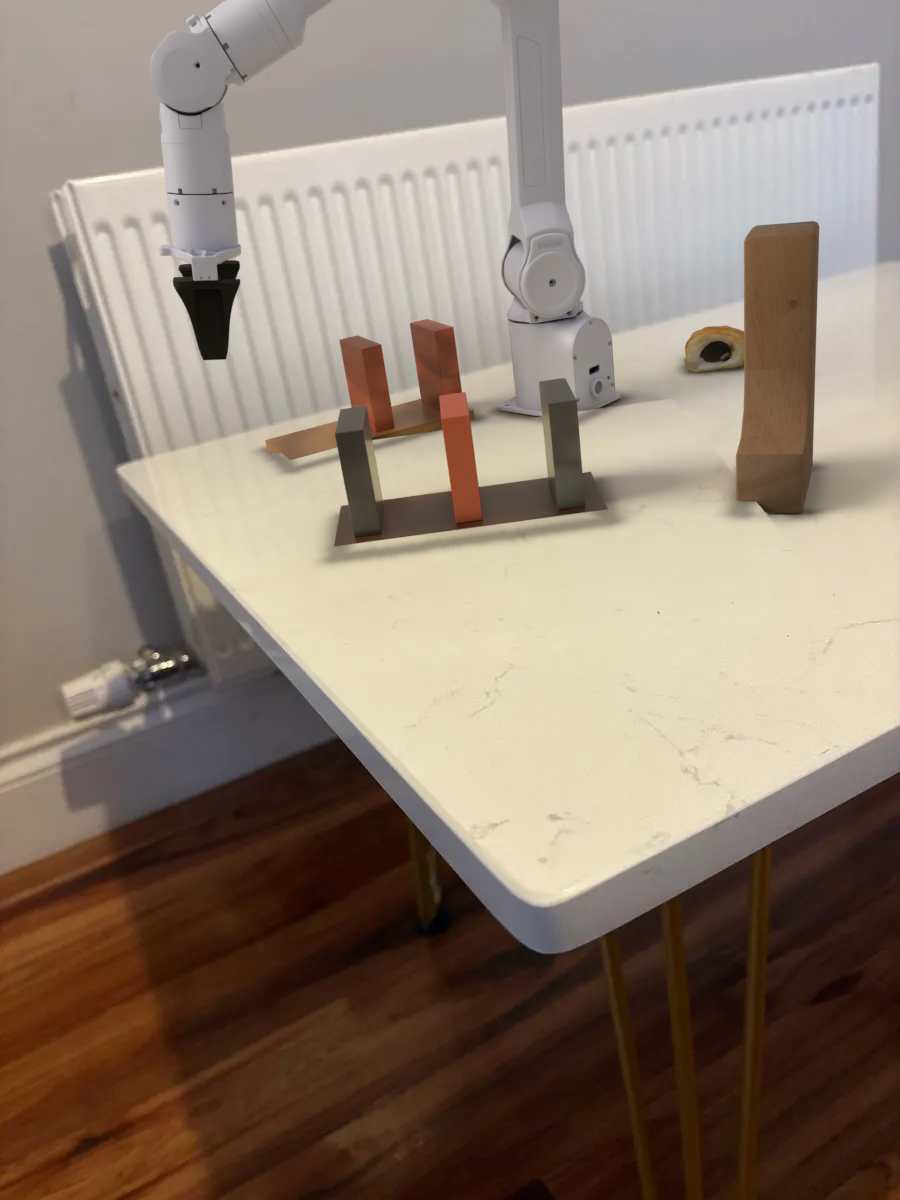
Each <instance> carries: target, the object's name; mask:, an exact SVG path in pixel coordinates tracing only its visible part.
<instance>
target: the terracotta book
mask: <svg viewBox="0 0 900 1200" xmlns="http://www.w3.org/2000/svg"><path fill="white" fill-rule="evenodd" d="M439 399H440V411H441V422H442V428H441V429H442V435H443V442H444V443H443V444H444V449H445V457H446V463H447V471H448V478H449V486H450V491H451V493H452V500H453V507H454V514H455V521H456V523H464V522H471V521H478V520H483V516H482V508H481V500H480V493H479V487H480V486H479V477H478V470H477V463H476V455H475V447H474V446H475V445H474V439H473V429H472V424H471V420H470V415H469V409H468V407H469V404H468V397H467V392H465V391H462V392H461V393H454V394H447V395H440V396H439Z"/></svg>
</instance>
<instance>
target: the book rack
mask: <svg viewBox="0 0 900 1200" xmlns="http://www.w3.org/2000/svg"><path fill="white" fill-rule="evenodd" d="M409 328H410V329H409V330H410V335H411V341H412V347H413V354H414V361H415V368H416V375H417V376H416V377H417V382H418V388H419V394H420V395H419V396H420V398H417V399H414V400H411V401H407V402H403V403H400V404H396V405H392V402H391V395H390V390H389V384H388V383H389V382H388V378H387V370H386V365H385V359H384V353H383V346H382V344H381V343H378V342H376V341H373V340H371V339H368V338H365V337H363V336H361V335H358V334H357V335H353V336H349V337H345V338H341V339H339V346H340V352H341V358H342V362H343V363H342V364H343V369H344V373H345V380H346V386H347V391H348V396H349V401H350V408H354V407H361V406H367V412H368V418H369V423H370V429H371V435H372V441H376V440H384V439H392V438H398V437H405V436H412V435H413V436H414V435H420V434H426V433H429V432H434V431H437V430H441V429H442V422H441V411H440V399H439V396H440V395H447V394H454V393H461V392H463V389H462V381H461V373H460V366H459V359H458V352H457V351H458V350H457V343H456V336H455V335H456V334H455V328H454V326H451V325H448V324H446V323H442V322H438V321H436V320H432V319H428V318H425V319H421V320H417V321H411V322H410V323H409ZM468 409H469V415H470V421H474V420H475V412H474V409H473V408H471V407H469V406H468ZM337 422H338V420H335V421H332V422H328V423H324V424H321V425H317V426H313V427H309V428H305V429H302V430H298V431H294V432H290V433H287V434H283V435H279V436H275V437H271V438H267V439H265V440H264V442H265V447H266V450H267V451H268V452H270V453H271V454H272V455H277V454H281V455H283V456H284V457H285V458H287V459H288V460H289V461H293V460H296V459H300V458H304V457H307V456H311V455H314V454H318V453H322V452H325V451H329V450H332V449H336V448H337V443H336V437H335V431H336V427H337ZM337 449H338V448H337Z"/></svg>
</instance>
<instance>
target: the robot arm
mask: <svg viewBox="0 0 900 1200" xmlns="http://www.w3.org/2000/svg"><path fill="white" fill-rule="evenodd" d="M336 1H337V0H223V1H222V3H219V4H218V5H217V6H215V7H214V8H213V9H211V10H210V11H209V12H207V13H206V14H204V15H202V16H201V17H200V18H199V16H198V15H197V14H196V13H195V14H194V13H193V14H192V15H191V16H190V17H188V18H187V19H186V20H185V22H186V25H187V26H188V28H189V30H190V31H189V30H188V31H187V30H175V31H171V32H168V33H167V34H166V35H165V37H164V38H163V40H162V41H161V42H160V43H159V44H158V45H157V47H156V48H155V49H154V51H153V53H152V55H151V59H150V63H149V75H150V80H151V83H152V87H153V88H154V91H155V93H156V94H157V96H158V97H159V98H160V99H161V100H162V101H163V102H159V113H158V116H159V122H160V125H161V135H160V144H161V153H162V161H163V170H164V181H165V191H166V196H167V197H166V198H167V208H168V216H169V227H170V234H171V244H160V245H159V247H158V253H159V255H160V256H165V257H166V256H171V257H172V258H175V259H177V260H179V261H182V262H184V263H182V264H179V266H178V269H177V270H178V271H179V273H180V274H181V276H173V278H172V285H173V288H174V290H175V292H176V293H177V295H178V296H179V298H180V299H181V301H182V304H183V305H184V307H185V310H186V312H187V314H188V317H189V320H190V322H191V326H192V330H193V333H194V337H195V340H196V345H197V348H198V351H199V354H200V356H201V358H202V360H203V361H221V360H224V361H225V360H227V357H228V353H229V352H228V351H229V346H230V345H229V344H230V328H231V326H230V325H231V317H232V316H231V315H232V311H233V310H232V309H233V307H234V303H235V298H236V296H237V293H238V290H239V288H240V286H241V279H240V278H237V277H238V273H239V271H240V269H241V263H240V262H241V261H239V260H236V259H234V258H237V257H239V256H241V255H242V246H241V243H239V236H238V235H239V234H238V225H237V224H238V223H237V213H236V199H235V192H234V190H235V188H234V177H233V164H232V152H231V151H232V150H231V140H230V139H231V137H230V135H229V133H228V132H227V124H226V112H225V103H224V102H223V101H224V99H225V97H226V95H227V92H228V89H229V85H232V84H234V85H237V86H238V87H243V86H244V85H245V84H246V83H249V82H250V81H251V80H252V79H253V80H254V78H255V77H257V76H259V75H260V74H261V73H263V72H264V71H266V70H267V69H268V68H270V67H272V66H273V65H274V64H276V63H277V62H279V61H281V60H282V59H283V58H285V57H286V56H287V55H289V54H291V53H292V52H293V51H295V50H296V49H297V48H300V47H301V46H302V45H303V44H304V39H305V33H306V27H307V22H308V19H309V18H311V17H312V16H314V15H316V14H317V13H319V12H320V11H321V10H324V9H325V8H327V7H328V6H329V5H331V4H332V3H334V2H336ZM487 1H489V3H490V4H491V5H493V6H494V7H495V8H496V9H497V10H498V11H499V14H500V28H501V46H502V47H501V48H502V64H503V79H504V82H503V83H504V98H505V99H504V100H505V118H506V135H507V152H508V153H507V155H508V170H509V172H508V173H509V187H510V211H509V212H510V213H509V216H508V217H509V218H508V225H507V229H508V230H507V231H508V232H507V233H508V241H507V245H506V249H505V252H504V253H503V256H502V259H501V263H500V276H501V280H502V283H503V285H504V287H505V288H506V290H507V291H508V292H509V293H510V294H511V295H512V296H513V299H512V302H511V305H510V307H509V309H508V310H507V312H506V316H507V317H506V318H507V326H508V335H509V344H510V354H511V355H510V356H511V363H512V374H513V382H514V391H515V397H514V398H513V397H512V398H511V399H509V400H507V401H504V402H502V403H500V404H498V405H497V408H498V409H497V410H499V411H504V412H508V413H509V412H510V413H514V414H515V413H517V414H522V415H529V416H533V417H541V418H542V410H541V399H540V389H539V382H540V381H546V380H553V379H560V378H565V379H566V381H567V382H568V384H569V386H570V388H571V390H572V392H573V394H574V396H575V398H576V400H577V410H578V413H579V412H586V411H593V410H598V409H599V408H602V407H604V406H606V405H609V404H610V403H613V402H615V401H616V400H619V399H621V398H622V394H621V393H620V392H617V391H616V381H615V377H616V376H615V364H614V347H613V346H614V345H613V337H612V332H611V330H610V328H609V325H608V324H607V322H605V320H604V319H602V318H599V317H596V316H593V315H590V314H588V312H586V311H585V310H584V301H582V300H581V298H582V296H583V294H584V292H585V288H586V282H587V281H586V280H587V279H586V277H587V276H586V271H585V267H584V264H583V263H582V261H581V259H580V257H579V255H578V253H577V250H576V246H575V245H576V244H575V233H574V232H575V231H574V227H573V224H572V220H571V217H570V214H569V211H568V209H567V204H566V179H565V178H566V177H565V150H564V149H565V148H564V121H563V120H564V119H563V96H562V95H563V91H562V89H563V88H562V87H563V86H562V61H561V60H562V59H561V32H560V31H561V30H560V29H561V27H560V3H559V2H560V1H559V0H487Z"/></svg>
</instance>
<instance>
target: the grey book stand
mask: <svg viewBox="0 0 900 1200" xmlns="http://www.w3.org/2000/svg"><path fill="white" fill-rule="evenodd" d="M539 389H540V399H541V410H542V417H541V419H542V420H541V421H542V429H543V431H542V432H543V440H544V451H545V452H544V453H545V462H546V472H547V477H542V478H536V479H534V478H533V479H527V480H519V481H511V482H505V483H498V484H497V483H496V484H492V485H484V486H483V485H482V486H479V493H480V500H481V508H482V516H483V520H478V521H471V522H464V523H456V521H455V514H454V507H453V500H452V493H451V490H448V491H447V490H446V491H440V492H432V493H425V494H418V495H411V496H404V497H396V498H395V497H394V498H388V499H383V493H382V492H383V491H382V486H381V482H380V475H379V470H378V464H377V458H376V453H375V447H374V440H372V435H371V429H370V423H369V418H368V412H367V406H361V407H354V408H352V407H347V408H341V409H340V410H339V414H338V419H337V421H338V422H337V427H336V431H335V437H336V443H337V452H338V459H339V464H340V468H341V473H342V474H341V475H342V478H343V484H344V490H345V495H346V500H347V504H345V505H341V506H340V508H339V515H338V521H337V525H336V526H337V527H336V531H335V536H334V537H335V538H334V543H333V547H341V546H348V545H355V544H363V543H371V542H377V541H386V540H392V539H399V538H400V539H401V538H407V537H415V536H422V535H428V534H430V535H431V534H436V533H443V532H450V531H458V530H466V529H475V528H481V527H487V526H495V525H504V524H511V523H517V522H525V521H532V520H533V521H534V520H540V519H547V518H553V517H562V516H563V517H564V516H571V515H576V514H584V513H591V512H592V513H593V512H598V511H607V510H608V507H607V504H606V502H605V500H604V498H603V496H602V493H601V491H600V489H599V487H598V485H597V482H596V480H595V478H594V476H593V474H592V472H591V471H586V472H585V471H584V472H583V463H582V449H581V440H580V439H581V437H580V425H579V412H578V410H577V400H576V398H575V396H574V394H573V392H572V390H571V388H570V386H569V384H568V382H567V381H566V379H565V378H560V379H553V380H546V381H540V382H539Z"/></svg>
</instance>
